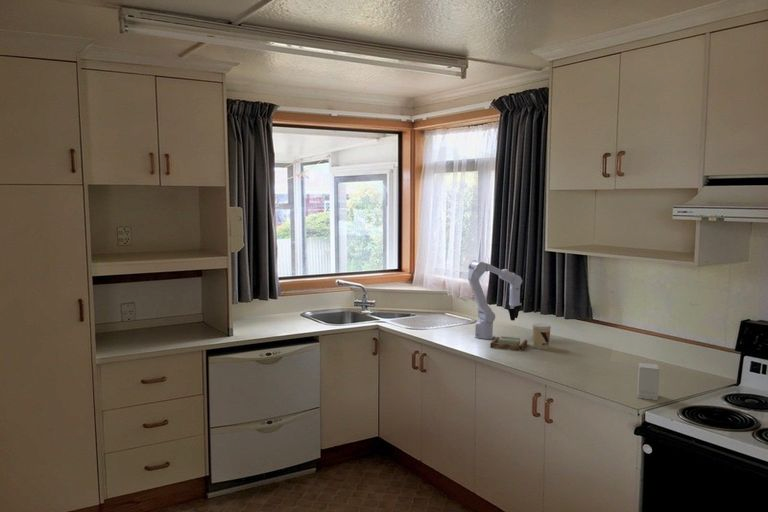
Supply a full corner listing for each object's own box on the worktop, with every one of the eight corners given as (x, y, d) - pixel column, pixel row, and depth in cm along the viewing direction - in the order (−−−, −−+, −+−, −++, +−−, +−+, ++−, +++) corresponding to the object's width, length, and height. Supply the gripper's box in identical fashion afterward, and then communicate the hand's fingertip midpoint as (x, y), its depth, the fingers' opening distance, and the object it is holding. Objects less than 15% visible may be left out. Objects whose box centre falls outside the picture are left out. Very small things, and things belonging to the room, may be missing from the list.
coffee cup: (542, 350, 314) (543, 327, 312) (528, 347, 321) (528, 324, 320) (553, 347, 320) (554, 325, 318) (538, 344, 327) (539, 322, 326)
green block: (497, 347, 320) (497, 339, 320) (501, 343, 328) (501, 335, 327) (516, 349, 316) (516, 340, 316) (519, 345, 324) (519, 337, 323)
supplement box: (658, 400, 237) (659, 369, 236) (637, 398, 240) (639, 367, 239) (657, 394, 244) (658, 364, 243) (637, 392, 247) (638, 362, 246)
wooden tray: (490, 347, 319) (490, 342, 319) (497, 341, 333) (497, 336, 333) (521, 350, 313) (521, 346, 312) (527, 344, 327) (527, 339, 326)
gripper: (519, 298, 337) (518, 322, 339) (524, 294, 351) (523, 317, 352) (506, 297, 340) (505, 321, 342) (511, 293, 353) (511, 316, 355)
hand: (514, 319), depth 347 cm, fingers open, 7 cm apart
